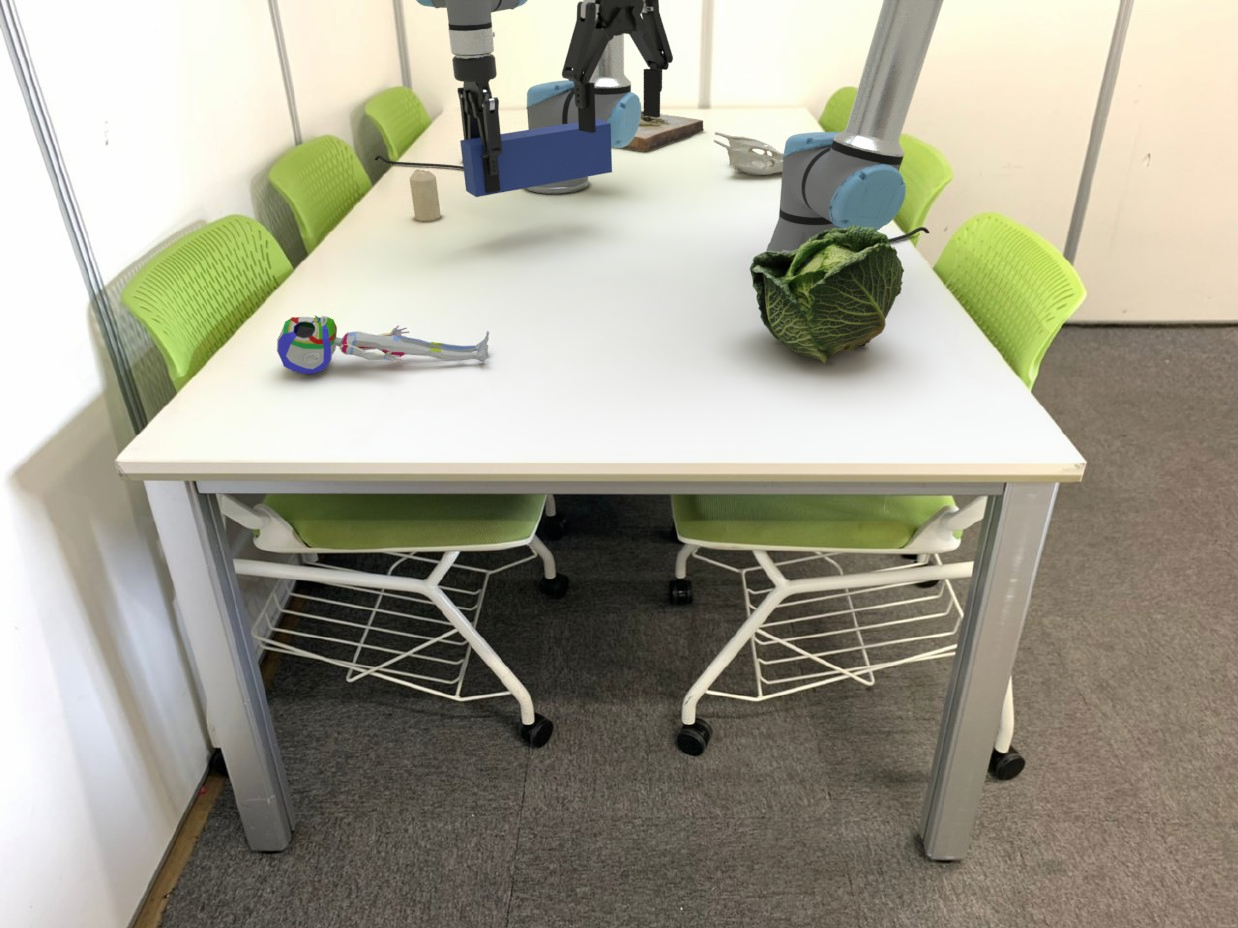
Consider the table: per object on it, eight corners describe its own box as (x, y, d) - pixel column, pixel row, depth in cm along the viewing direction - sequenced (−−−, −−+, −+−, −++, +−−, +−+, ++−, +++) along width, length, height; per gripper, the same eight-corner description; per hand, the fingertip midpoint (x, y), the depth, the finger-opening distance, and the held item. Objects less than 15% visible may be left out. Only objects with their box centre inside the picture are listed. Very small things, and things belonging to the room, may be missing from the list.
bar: (475, 197, 167) (470, 146, 162) (466, 191, 171) (460, 140, 165) (612, 172, 179) (610, 123, 174) (600, 166, 182) (598, 119, 177)
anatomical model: (715, 128, 226) (816, 127, 222) (715, 166, 231) (813, 165, 227) (712, 142, 213) (818, 141, 210) (711, 181, 218) (815, 181, 215)
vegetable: (780, 374, 144) (722, 268, 136) (876, 307, 145) (825, 198, 137) (841, 402, 125) (779, 281, 118) (951, 325, 127) (897, 200, 119)
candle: (445, 214, 196) (439, 168, 191) (432, 222, 192) (426, 174, 186) (423, 212, 198) (416, 166, 192) (410, 220, 193) (403, 172, 188)
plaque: (647, 125, 237) (559, 112, 252) (647, 153, 241) (560, 139, 256) (706, 107, 258) (622, 97, 273) (705, 133, 262) (622, 121, 277)
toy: (488, 343, 128) (268, 326, 123) (485, 396, 132) (272, 381, 127) (490, 315, 136) (284, 298, 132) (486, 366, 141) (287, 351, 136)
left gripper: (514, 59, 152) (525, 196, 165) (473, 46, 165) (486, 174, 178) (473, 64, 149) (487, 203, 162) (435, 50, 162) (451, 180, 175)
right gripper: (569, -36, 111) (576, 142, 122) (699, -46, 126) (694, 113, 137) (529, -38, 115) (539, 134, 127) (659, -47, 130) (658, 107, 142)
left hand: (487, 187), depth 170 cm, fingers closed on bar, 5 cm apart
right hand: (620, 124), depth 132 cm, fingers open, 13 cm apart
